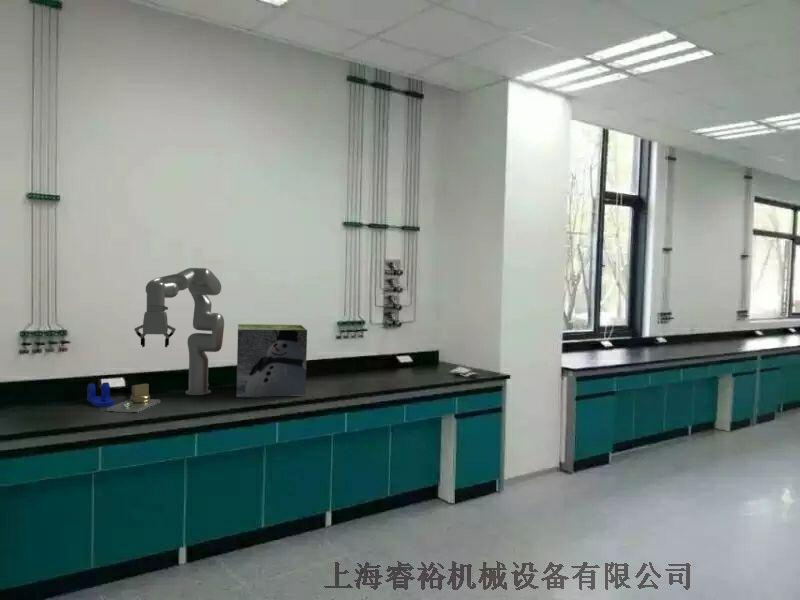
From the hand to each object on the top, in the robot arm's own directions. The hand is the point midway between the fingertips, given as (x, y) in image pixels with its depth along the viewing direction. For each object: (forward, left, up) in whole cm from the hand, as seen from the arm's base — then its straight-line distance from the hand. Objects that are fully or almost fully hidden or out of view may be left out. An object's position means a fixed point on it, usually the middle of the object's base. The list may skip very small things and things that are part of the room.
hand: (154, 346), depth 268 cm
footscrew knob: (-10, -12, -27) cm, 31 cm away
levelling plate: (-5, -12, -29) cm, 32 cm away
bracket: (-10, -30, -29) cm, 43 cm away
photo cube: (-57, +37, -29) cm, 74 cm away
